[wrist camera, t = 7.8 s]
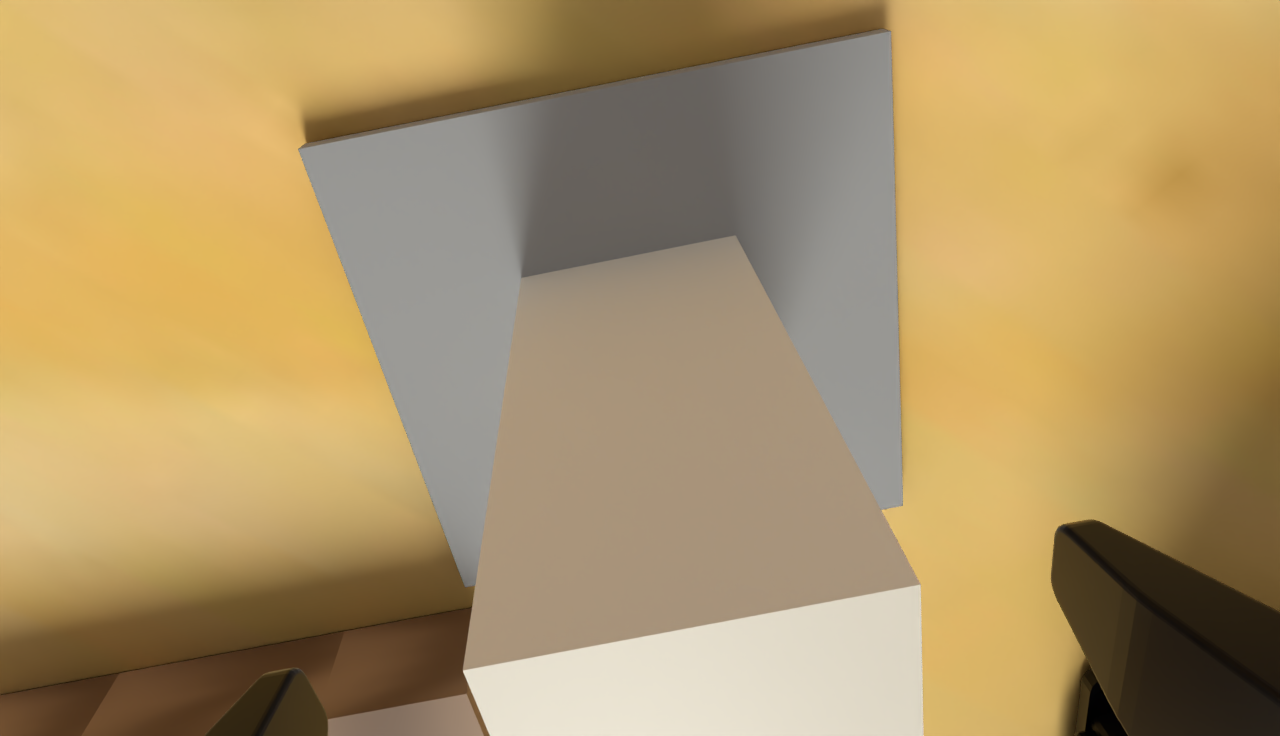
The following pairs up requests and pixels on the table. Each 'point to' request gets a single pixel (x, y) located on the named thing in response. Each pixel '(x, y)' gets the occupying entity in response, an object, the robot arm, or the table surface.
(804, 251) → the grey mat
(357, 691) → the walnut square frame
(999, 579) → the table surface
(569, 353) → the cream block
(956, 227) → the table surface
